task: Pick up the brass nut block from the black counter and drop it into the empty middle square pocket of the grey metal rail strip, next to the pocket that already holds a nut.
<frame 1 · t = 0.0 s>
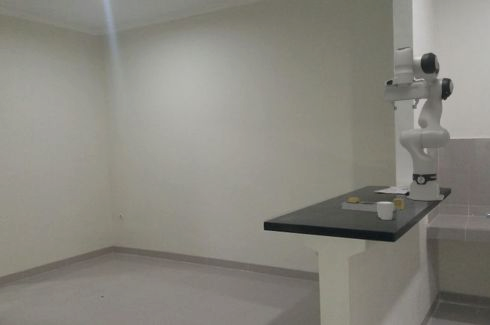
hand: (404, 109, 197), 48 cm above the countertop, fingers open, 8 cm apart
rail: (368, 210, 193), on the countertop
nut: (398, 209, 194), on the countertop
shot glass: (385, 219, 173), on the countertop
nut seated: (353, 208, 197), point 1 cm above the countertop, touching rail
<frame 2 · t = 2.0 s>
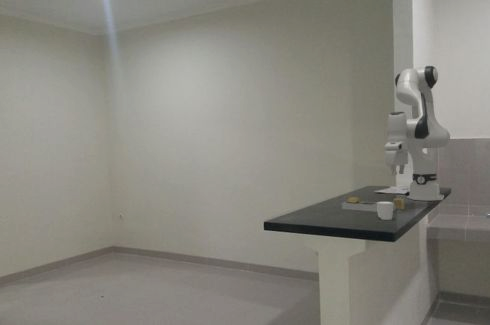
hand: (397, 174, 193), 17 cm above the countertop, fingers open, 8 cm apart
nothing on the countertop moved.
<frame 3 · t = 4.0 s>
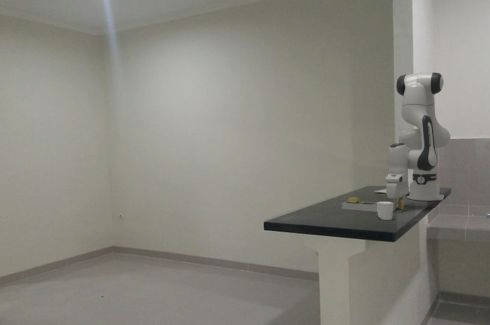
hand: (398, 205, 194), 2 cm above the countertop, fingers closed on nut, 4 cm apart
nut: (398, 209, 194), on the countertop, touching gripper
everything else where it was.
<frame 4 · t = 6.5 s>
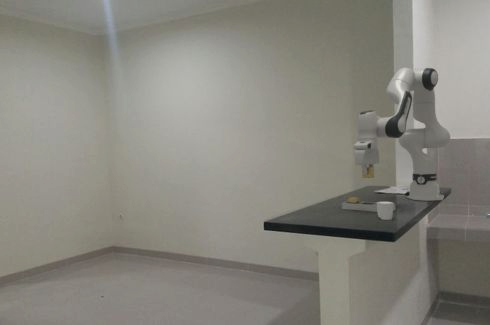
hand: (368, 174, 191), 18 cm above the countertop, fingers closed on nut, 4 cm apart
nut: (368, 177, 192), point 16 cm above the countertop, touching gripper
everything else where it was.
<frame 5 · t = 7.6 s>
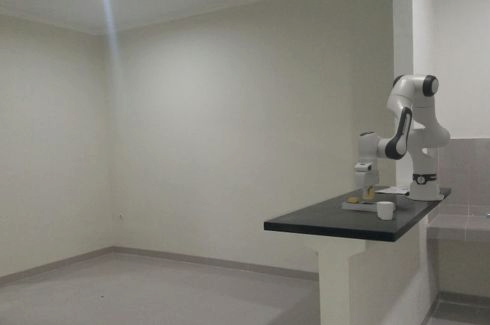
hand: (368, 195, 192), 8 cm above the countertop, fingers closed on nut, 4 cm apart
nut: (368, 198, 192), point 6 cm above the countertop, touching gripper
everything else where it was.
when the fingers open (6 cm above the countertop, at t = 8.5 s): nut drops 4 cm, resting on rail.
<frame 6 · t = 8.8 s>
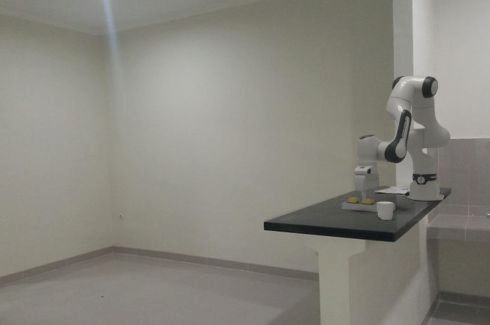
hand: (368, 198, 192), 6 cm above the countertop, fingers open, 7 cm apart
nut: (368, 209, 193), point 1 cm above the countertop, touching rail
everything else where it was.
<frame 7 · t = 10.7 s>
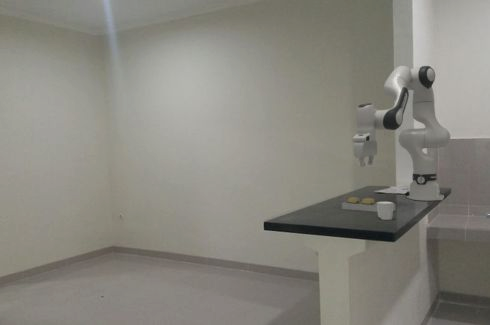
hand: (366, 165, 197), 21 cm above the countertop, fingers open, 8 cm apart
nothing on the countertop moved.
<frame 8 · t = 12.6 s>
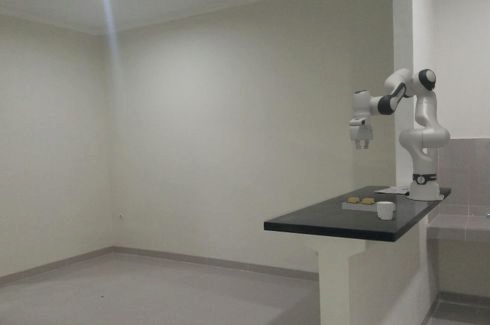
hand: (362, 149, 207), 29 cm above the countertop, fingers open, 8 cm apart
nothing on the countertop moved.
at the end: nut 0.1 cm off-centre on the rail, point 0.8 cm above the rail's base; the gripper is holding nothing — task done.
